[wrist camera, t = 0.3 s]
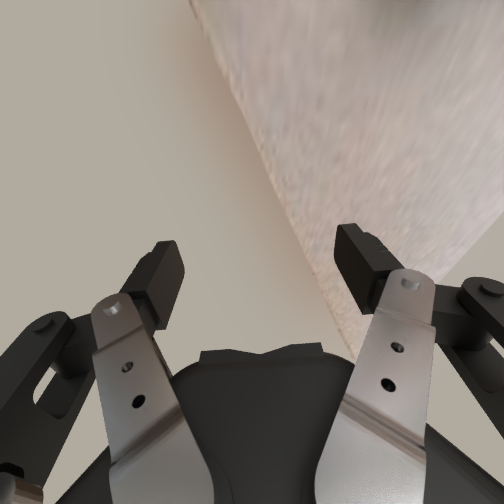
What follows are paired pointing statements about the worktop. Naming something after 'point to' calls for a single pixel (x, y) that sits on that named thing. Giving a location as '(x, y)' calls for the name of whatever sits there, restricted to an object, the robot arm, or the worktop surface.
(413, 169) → the worktop surface
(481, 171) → the worktop surface
